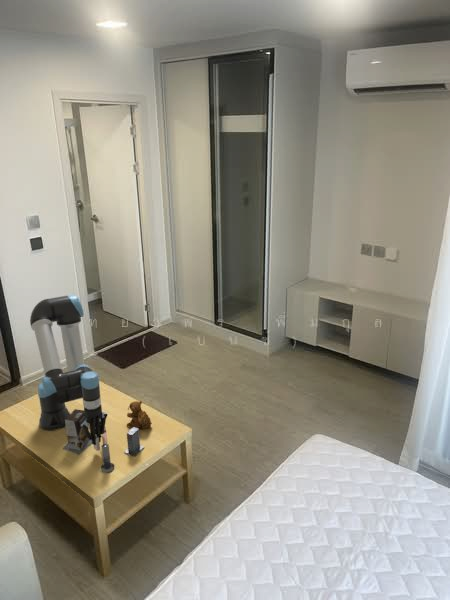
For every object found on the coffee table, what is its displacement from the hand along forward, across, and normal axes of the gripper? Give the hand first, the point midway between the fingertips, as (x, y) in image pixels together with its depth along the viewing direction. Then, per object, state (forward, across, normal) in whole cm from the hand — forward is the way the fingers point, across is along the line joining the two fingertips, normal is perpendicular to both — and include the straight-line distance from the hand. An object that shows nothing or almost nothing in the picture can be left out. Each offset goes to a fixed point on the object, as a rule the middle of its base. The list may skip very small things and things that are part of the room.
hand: (97, 448), depth 208 cm
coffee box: (+2, -2, +12) cm, 13 cm away
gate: (+2, +2, -4) cm, 5 cm away
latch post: (+2, +13, -11) cm, 17 cm away
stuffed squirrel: (+3, +27, +2) cm, 27 cm away
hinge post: (+3, -2, -12) cm, 12 cm away
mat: (+3, -2, +12) cm, 13 cm away
